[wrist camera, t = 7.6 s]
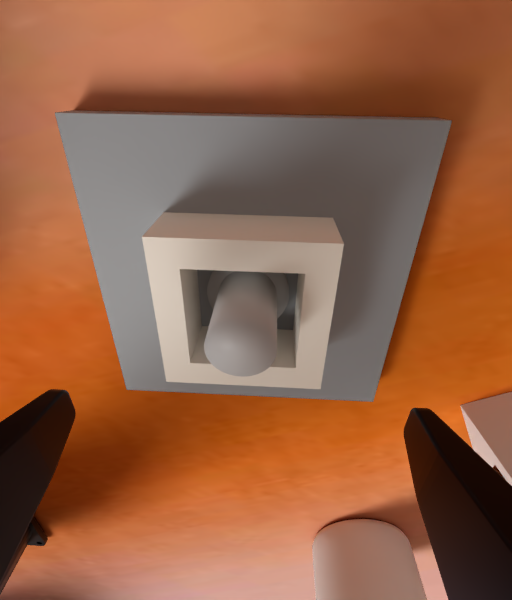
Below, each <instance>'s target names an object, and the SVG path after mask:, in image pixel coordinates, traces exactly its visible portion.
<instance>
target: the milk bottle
mask: <svg viewBox="0 0 512 600" xmlns="http://www.w3.org/2000/svg"><path fill="white" fill-rule="evenodd" d="M312 551H313V569H314V582H315V595H316V600H427V598H426V595H425V591H424V588H423V584H422V581H421V578H420V574H419V571H418V567H417V564H416V561H415V557H414V554H413V551H412V548H411V545H410V542H409V540H408V538H407V537H406V536H405V534H404V533H403V532H402V530H400V529H399V528H398V527H396V526H394V525H392V524H389V523H386V522H383V521H378V520H371V519H352V520H345V521H341V522H336V523H334V524H331V525H328V526H327V527H325V528H323V529H322V530H321V531H319V532H318V533H317V535H316V536H315V539H314V542H313V545H312Z"/></svg>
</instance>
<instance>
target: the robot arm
mask: <svg viewBox="0 0 512 600" xmlns="http://www.w3.org/2000/svg"><path fill="white" fill-rule="evenodd" d="M74 419H75V408H74V406H73V403H72V401H71V398H70V396H69V393H68V392H67V391H66V390H58V389H51V390H48V391H47V392H45V393H43V394H42V395H40V396H39V397H37V398H36V399H34V400H33V401H31V402H30V403H28V404H27V405H25V406H24V407H22V408H21V409H19V410H18V411H16V412H15V413H13V414H12V415H10V416H9V417H7V418H6V419H4V420H3V421H1V422H0V594H1V592H2V590H3V589H4V587H5V585H6V583H7V581H8V579H9V577H10V576H11V574H12V572H13V570H14V568H15V566H16V565H17V563H18V561H19V559H20V557H21V555H22V553H23V552H24V550H25V548H26V546H27V545H37V546H44V545H45V544H46V542H47V540H48V538H47V537H46V535H45V534H44V532H43V530H42V529H41V527H40V526H39V524H38V523H37V521H36V519H35V518H34V514H35V512H36V510H37V508H38V505H39V503H40V501H41V499H42V497H43V495H44V493H45V491H46V489H47V487H48V485H49V483H50V481H51V479H52V477H53V474H54V472H55V470H56V467H57V465H58V462H59V459H60V457H61V454H62V451H63V449H64V446H65V443H66V441H67V438H68V436H69V433H70V430H71V428H72V425H73V422H74ZM404 439H405V444H406V449H407V454H408V459H409V464H410V469H411V474H412V479H413V484H414V488H415V493H416V497H417V501H418V504H419V508H420V511H421V514H422V517H423V520H424V523H425V527H426V530H427V533H428V536H429V539H430V543H431V546H432V549H433V552H434V555H435V558H436V562H437V565H438V568H439V571H440V574H441V577H442V581H443V584H444V587H445V590H446V593H447V596H448V600H512V486H511V485H510V484H509V483H508V482H507V481H506V480H505V479H504V478H503V477H502V476H501V475H500V474H499V473H498V472H497V471H495V470H494V469H493V468H492V467H491V466H490V465H489V464H488V463H487V462H486V461H485V460H484V459H483V458H482V457H481V456H480V455H478V454H477V453H476V452H475V451H474V450H473V449H472V448H471V447H470V446H469V445H468V444H467V443H466V442H465V441H464V440H463V439H462V438H460V437H459V436H458V435H457V434H456V433H455V432H454V431H453V430H452V429H451V428H450V427H449V426H448V425H447V424H446V423H445V422H443V421H442V420H441V419H440V418H439V417H438V416H437V415H436V414H435V413H434V412H433V411H432V410H430V409H427V408H413V409H412V410H411V411H410V414H409V417H408V419H407V422H406V425H405V427H404Z"/></svg>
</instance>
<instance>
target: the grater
mask: <svg viewBox="0 0 512 600" xmlns="http://www.w3.org/2000/svg"><path fill="white" fill-rule="evenodd" d="M460 406H461V409H462V413H463V416H464V420H465V423H466V427H467V430H468V433H469V437H470V440H471V444H472V447H473V450H474V451H475V452H476V453H477V454H478V455H480V456H481V457H482V458H483V459H484V460H485V461H486V462H487V463H488V464H489V465H490V466H491V467H492V468H493V467H494V465H496V467H497V468H498V470H499V471H500V472H501V474H502V475H503V477H504V478H505V480H506V481H507V482H508V483H509V484H510V485H511V486H512V392H508V393H504V394H501V395H497V396H493V397H489V398H485V399H481V400H478V401H474V402H470V403H466V404H462V405H460Z"/></svg>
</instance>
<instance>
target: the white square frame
mask: <svg viewBox="0 0 512 600" xmlns="http://www.w3.org/2000/svg"><path fill="white" fill-rule="evenodd" d="M142 241H143V246H144V252H145V258H146V264H147V270H148V276H149V282H150V288H151V294H152V300H153V306H154V312H155V318H156V323H157V329H158V335H159V341H160V347H161V353H162V359H163V365H164V371H165V377H166V382H182V383H202V384H223V385H243V386H264V387H284V388H304V389H321V383H322V377H323V370H324V364H325V358H326V352H327V346H328V340H329V333H330V327H331V321H332V315H333V309H334V302H335V296H336V290H337V284H338V278H339V272H340V265H341V259H342V253H343V247H344V243H343V240H342V238H341V236H340V233H339V231H338V228H337V226H336V224H335V221H334V219H333V218H327V217H296V216H264V215H233V214H201V213H170V212H163V214H162V215H161V216H160V217H159V218H158V219H157V220H156V221H155V223H154V224H153V225H152V226H151V227H150V228H149V229H148V230H147V232H146V233H145V234H144V235H143V236H142ZM197 270H219V271H246V272H273V273H298V282H297V293H296V304H295V315H294V326H293V330H281V329H277V355H276V358H275V360H274V362H273V363H272V365H271V366H270V367H269V368H268V369H266V370H265V371H263V372H261V373H259V374H256V375H253V376H245V377H240V376H233V375H229V374H226V373H224V372H222V371H220V370H218V369H217V368H215V367H214V366H213V365H212V364H211V363H210V361H209V360H208V359H207V357H206V354H205V351H204V342H205V338H206V335H207V331H208V327H209V326H202V323H201V311H200V299H199V287H198V275H197Z"/></svg>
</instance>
